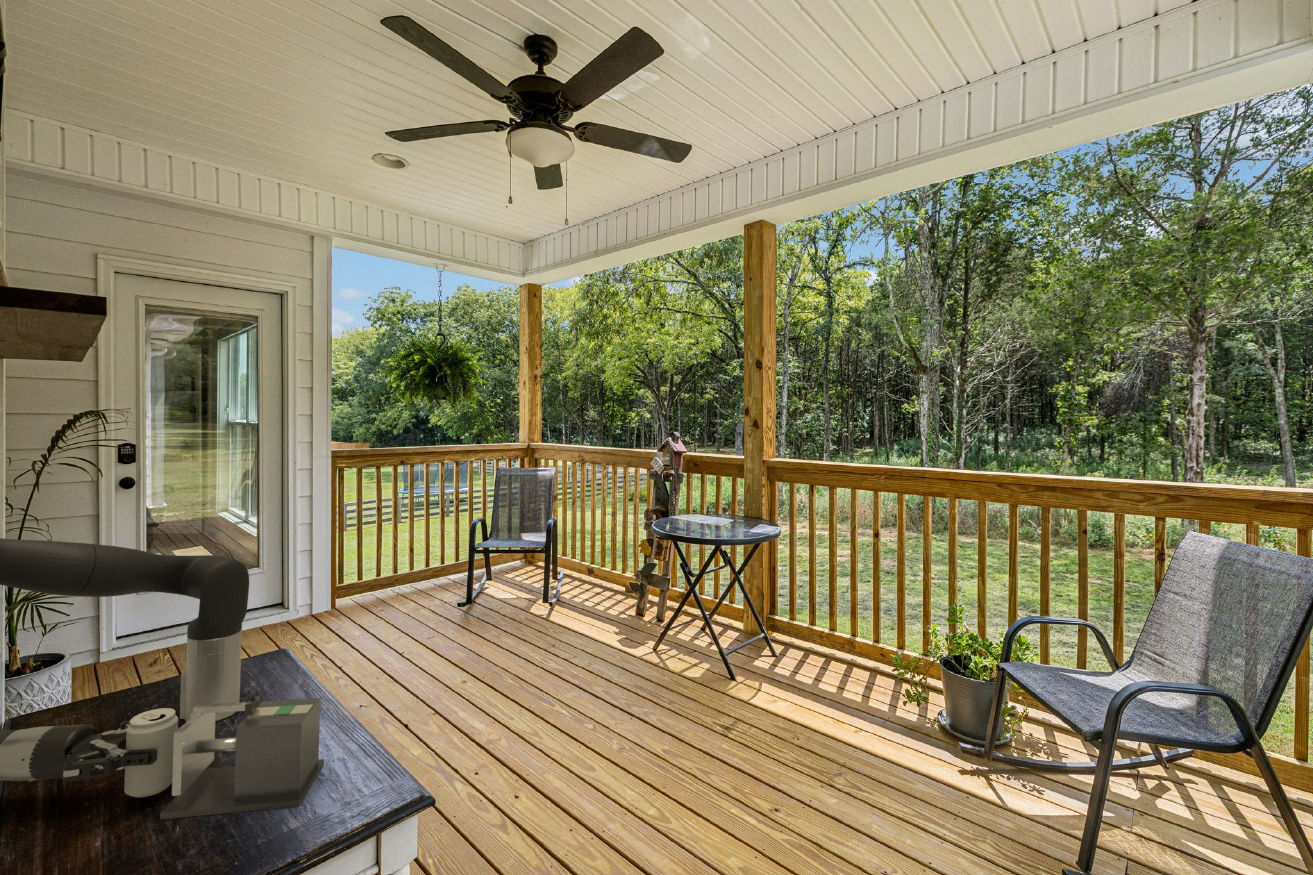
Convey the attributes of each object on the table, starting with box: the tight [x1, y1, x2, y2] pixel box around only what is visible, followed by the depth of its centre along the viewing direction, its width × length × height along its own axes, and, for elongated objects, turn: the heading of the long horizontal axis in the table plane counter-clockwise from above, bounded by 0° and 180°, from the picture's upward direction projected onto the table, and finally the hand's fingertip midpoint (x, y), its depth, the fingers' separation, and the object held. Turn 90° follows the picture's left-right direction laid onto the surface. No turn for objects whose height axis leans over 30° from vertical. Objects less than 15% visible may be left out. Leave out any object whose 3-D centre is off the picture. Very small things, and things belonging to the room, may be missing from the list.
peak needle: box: [244, 689, 261, 715], centre depth 98 cm, size 1×3×3 cm, turn 13°
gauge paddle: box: [171, 701, 248, 797], centre depth 97 cm, size 9×10×12 cm
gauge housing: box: [159, 697, 325, 821], centre depth 98 cm, size 20×12×13 cm, turn 103°
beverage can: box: [123, 707, 179, 798], centre depth 95 cm, size 6×6×12 cm
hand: (168, 744), depth 95 cm, fingers closed on beverage can, 6 cm apart
